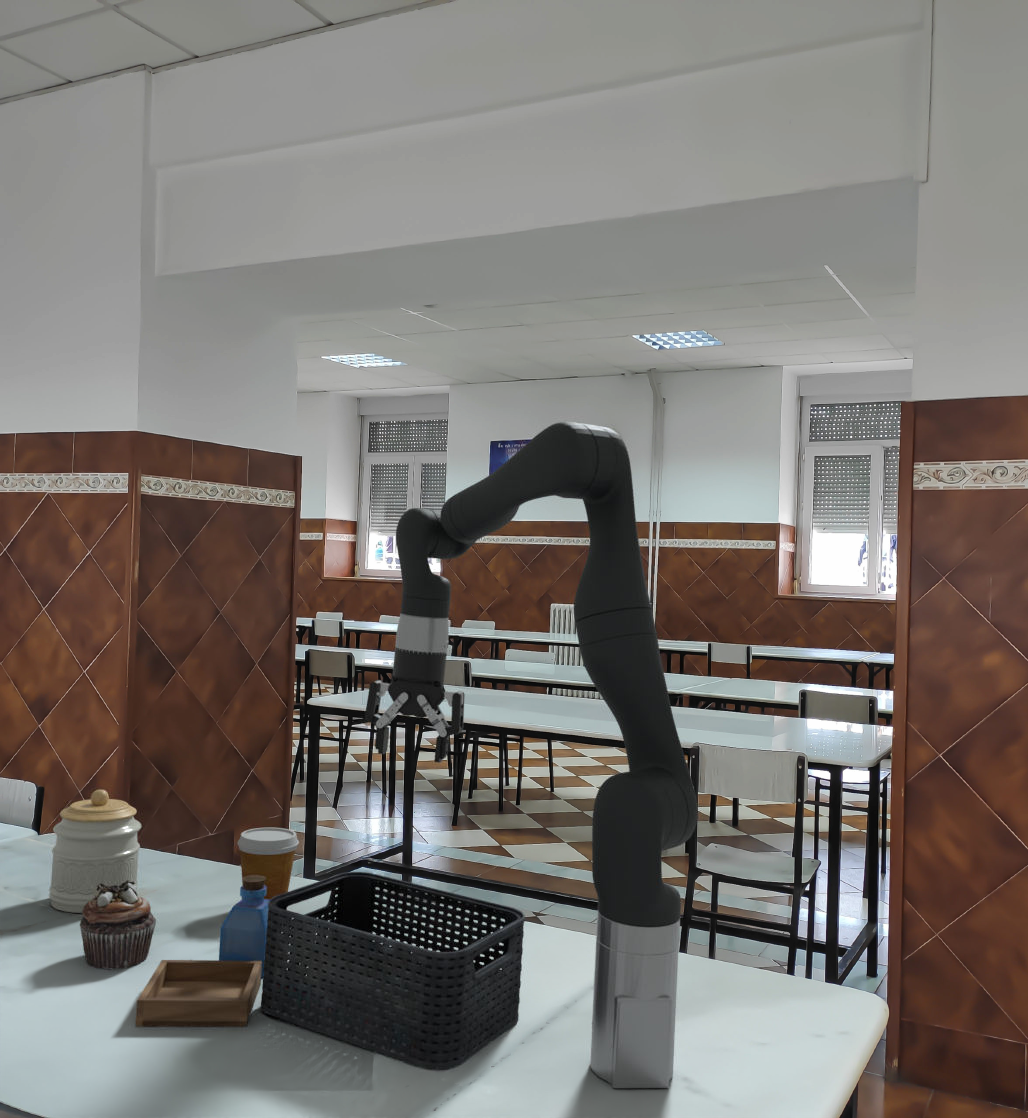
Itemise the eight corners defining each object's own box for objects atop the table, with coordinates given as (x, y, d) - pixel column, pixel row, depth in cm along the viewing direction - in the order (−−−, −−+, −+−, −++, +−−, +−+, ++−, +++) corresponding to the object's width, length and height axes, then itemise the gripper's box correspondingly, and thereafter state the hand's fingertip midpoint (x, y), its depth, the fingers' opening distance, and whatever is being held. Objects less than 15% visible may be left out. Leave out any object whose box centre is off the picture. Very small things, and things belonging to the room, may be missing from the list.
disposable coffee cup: (228, 903, 163) (233, 828, 163) (287, 898, 167) (292, 825, 167) (239, 922, 154) (243, 843, 154) (301, 917, 158) (305, 839, 158)
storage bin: (529, 1017, 126) (535, 909, 126) (445, 1080, 109) (452, 954, 109) (347, 965, 140) (352, 868, 140) (247, 1013, 123) (254, 902, 123)
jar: (54, 890, 164) (61, 782, 165) (139, 887, 168) (145, 781, 169) (42, 917, 152) (50, 799, 152) (134, 913, 156) (141, 798, 156)
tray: (246, 1026, 119) (247, 1001, 119) (135, 1026, 117) (136, 1000, 117) (260, 984, 131) (262, 961, 131) (160, 983, 130) (161, 960, 130)
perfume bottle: (278, 961, 139) (283, 874, 140) (263, 978, 133) (268, 887, 133) (235, 957, 140) (240, 870, 140) (217, 974, 134) (223, 883, 134)
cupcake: (91, 977, 131) (96, 899, 131) (69, 954, 138) (74, 880, 138) (164, 962, 137) (169, 888, 137) (139, 941, 144) (144, 870, 145)
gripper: (366, 643, 144) (355, 755, 145) (462, 654, 142) (451, 769, 142) (383, 639, 152) (372, 746, 152) (474, 650, 149) (463, 759, 149)
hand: (410, 757), depth 147 cm, fingers open, 8 cm apart
